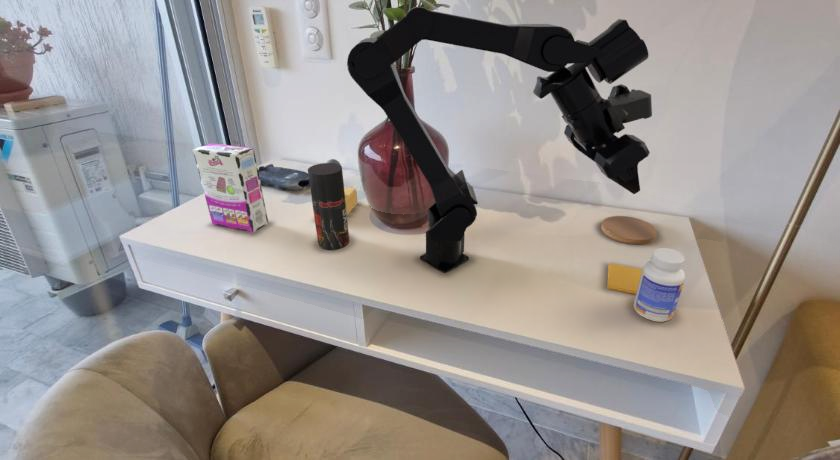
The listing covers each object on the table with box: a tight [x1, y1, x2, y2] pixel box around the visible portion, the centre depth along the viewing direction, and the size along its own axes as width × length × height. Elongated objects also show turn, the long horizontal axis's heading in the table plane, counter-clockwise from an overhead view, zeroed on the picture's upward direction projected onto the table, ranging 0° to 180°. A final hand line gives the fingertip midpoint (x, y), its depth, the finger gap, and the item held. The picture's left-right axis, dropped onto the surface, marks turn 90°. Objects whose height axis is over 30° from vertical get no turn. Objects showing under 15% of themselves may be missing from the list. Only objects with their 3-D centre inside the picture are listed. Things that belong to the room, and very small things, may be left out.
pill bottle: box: [633, 247, 686, 323], centre depth 62 cm, size 5×5×10 cm
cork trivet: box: [600, 215, 658, 245], centre depth 86 cm, size 10×10×1 cm
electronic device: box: [258, 163, 310, 192], centre depth 109 cm, size 9×6×15 cm
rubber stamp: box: [325, 158, 359, 216], centre depth 93 cm, size 10×6×12 cm, turn 167°
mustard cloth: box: [606, 263, 643, 295], centre depth 71 cm, size 7×7×1 cm
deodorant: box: [307, 162, 350, 251], centre depth 80 cm, size 6×6×15 cm
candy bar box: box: [192, 142, 270, 234], centre depth 87 cm, size 11×5×16 cm, turn 68°
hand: (623, 180), depth 71 cm, fingers open, 9 cm apart
